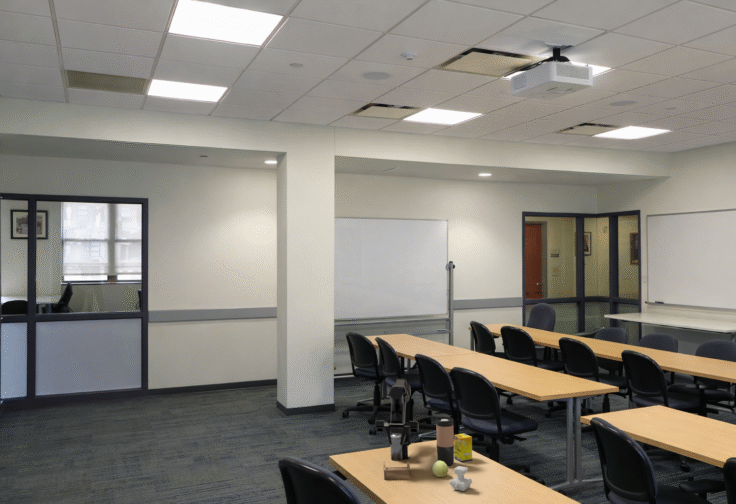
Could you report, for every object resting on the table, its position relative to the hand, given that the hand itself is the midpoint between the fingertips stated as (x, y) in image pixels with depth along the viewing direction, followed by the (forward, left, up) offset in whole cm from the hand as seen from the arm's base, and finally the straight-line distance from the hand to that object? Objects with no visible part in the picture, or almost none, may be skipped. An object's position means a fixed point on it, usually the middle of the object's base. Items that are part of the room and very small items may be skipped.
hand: (395, 444), depth 251 cm
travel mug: (-26, -4, -13) cm, 29 cm away
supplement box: (-36, -6, -13) cm, 39 cm away
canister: (-1, -1, -7) cm, 7 cm away
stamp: (-18, +24, -13) cm, 32 cm away
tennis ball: (-17, +8, -13) cm, 23 cm away
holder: (-1, -1, -13) cm, 13 cm away
